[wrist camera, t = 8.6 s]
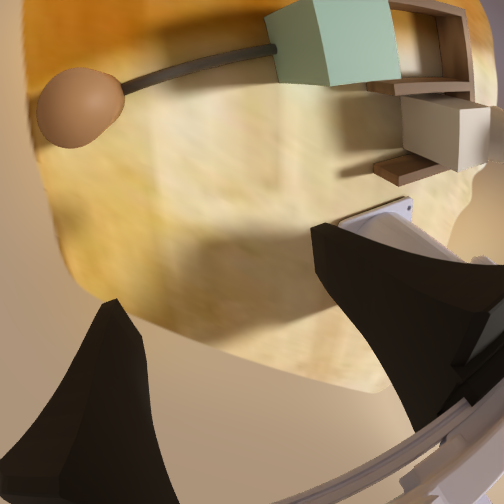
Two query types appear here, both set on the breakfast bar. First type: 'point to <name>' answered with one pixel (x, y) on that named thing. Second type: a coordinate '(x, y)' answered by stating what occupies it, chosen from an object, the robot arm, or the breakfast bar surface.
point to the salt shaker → (496, 135)
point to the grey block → (446, 129)
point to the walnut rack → (430, 82)
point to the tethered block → (281, 47)
